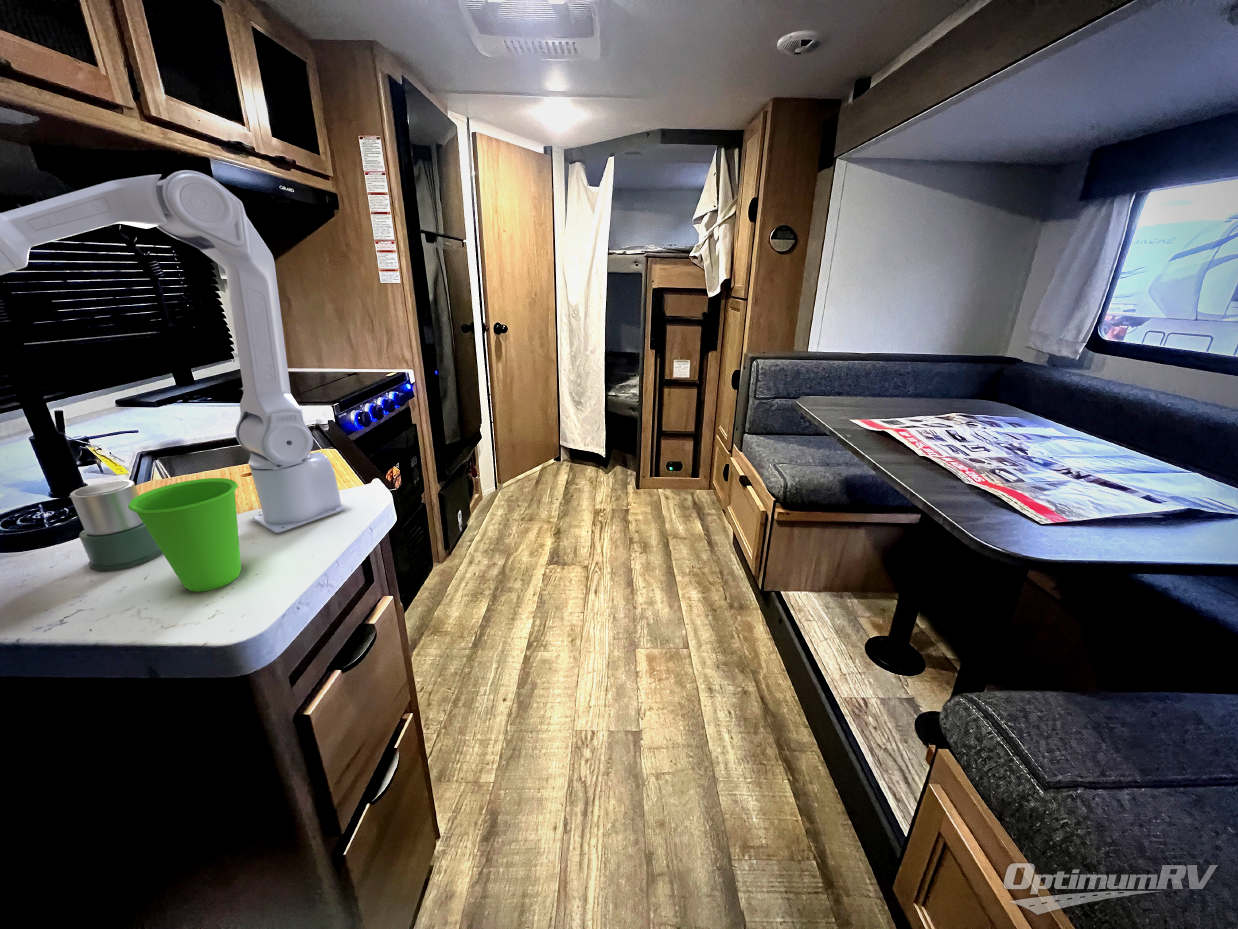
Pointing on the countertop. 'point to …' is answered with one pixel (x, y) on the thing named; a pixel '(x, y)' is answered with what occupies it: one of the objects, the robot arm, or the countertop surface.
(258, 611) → the countertop surface
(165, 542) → the cup
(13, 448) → the countertop surface
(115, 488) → the steel cup
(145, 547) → the green round puck
